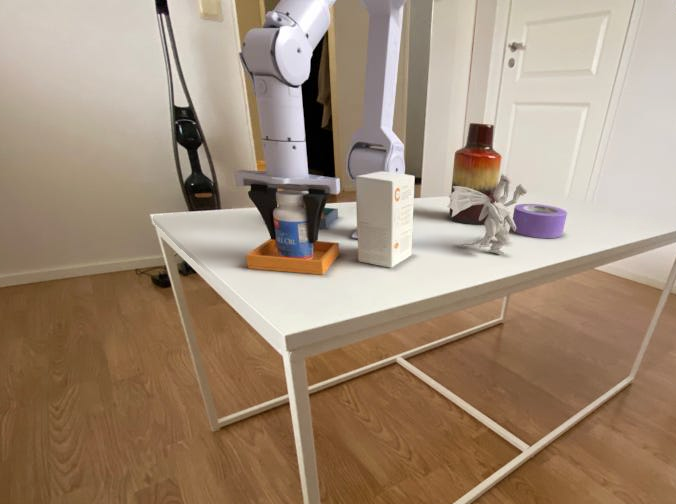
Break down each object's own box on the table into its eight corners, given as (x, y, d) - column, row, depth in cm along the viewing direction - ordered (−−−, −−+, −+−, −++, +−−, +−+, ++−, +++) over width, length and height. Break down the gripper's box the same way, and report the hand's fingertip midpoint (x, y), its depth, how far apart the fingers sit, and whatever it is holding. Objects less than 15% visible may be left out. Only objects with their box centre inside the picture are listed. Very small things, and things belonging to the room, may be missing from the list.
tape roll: (543, 241, 86) (548, 217, 83) (500, 228, 93) (504, 205, 90) (571, 234, 93) (577, 211, 90) (530, 223, 100) (534, 202, 97)
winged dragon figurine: (432, 235, 73) (449, 158, 71) (493, 262, 85) (509, 196, 84) (470, 235, 66) (490, 149, 64) (532, 264, 78) (549, 192, 77)
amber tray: (339, 254, 68) (338, 242, 67) (323, 274, 60) (322, 261, 59) (273, 248, 68) (272, 237, 67) (248, 268, 60) (245, 255, 58)
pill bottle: (270, 258, 63) (261, 191, 57) (295, 250, 67) (289, 187, 62) (297, 266, 61) (289, 197, 55) (321, 257, 65) (316, 193, 60)
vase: (495, 226, 95) (510, 126, 84) (450, 222, 94) (459, 122, 83) (489, 216, 104) (502, 125, 93) (447, 213, 103) (455, 121, 92)
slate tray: (338, 217, 90) (337, 208, 89) (326, 228, 82) (325, 218, 81) (288, 213, 90) (287, 204, 89) (271, 224, 82) (270, 214, 81)
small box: (380, 249, 72) (380, 170, 65) (412, 255, 71) (416, 175, 64) (356, 261, 66) (354, 175, 59) (391, 268, 64) (393, 180, 57)
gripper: (216, 136, 52) (236, 242, 59) (328, 146, 52) (334, 250, 59) (241, 134, 58) (256, 230, 65) (341, 143, 58) (345, 238, 65)
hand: (294, 239), depth 62 cm, fingers closed on pill bottle, 5 cm apart
